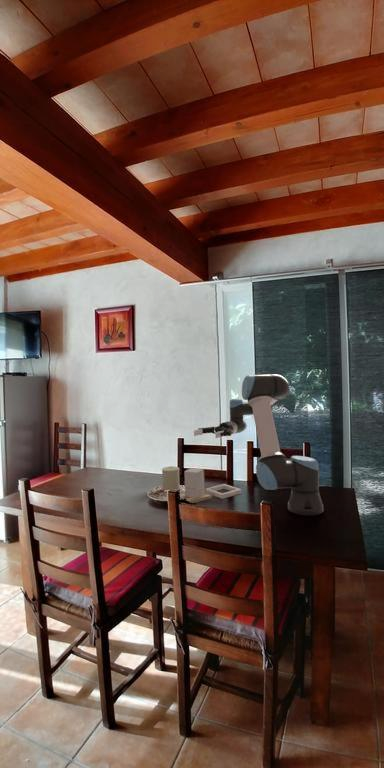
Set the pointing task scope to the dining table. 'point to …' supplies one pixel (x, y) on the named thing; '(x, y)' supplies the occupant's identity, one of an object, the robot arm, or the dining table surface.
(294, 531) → the dining table surface
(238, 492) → the white flat square frame
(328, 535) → the dining table surface
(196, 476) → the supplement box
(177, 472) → the can
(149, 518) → the dining table surface
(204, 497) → the pad
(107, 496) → the dining table surface
